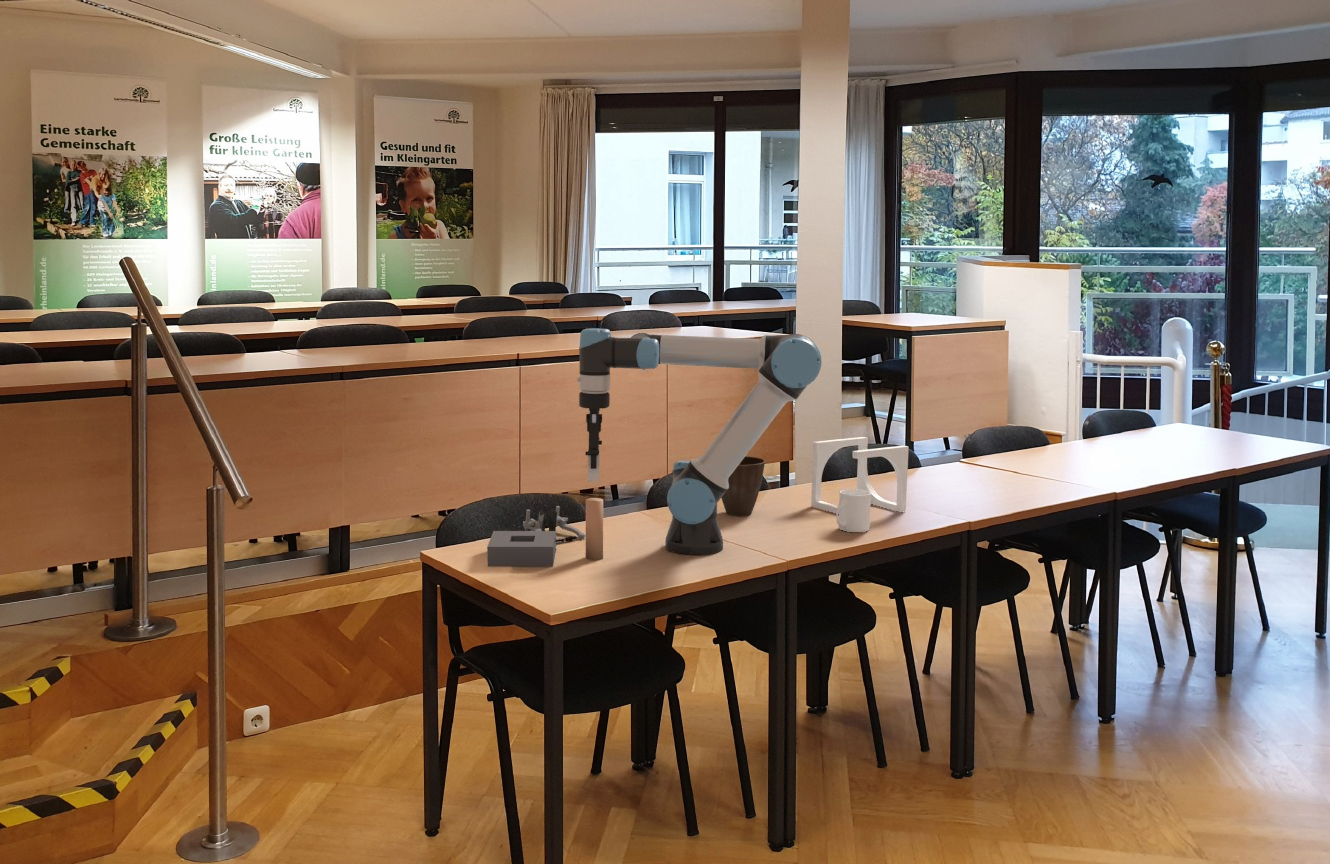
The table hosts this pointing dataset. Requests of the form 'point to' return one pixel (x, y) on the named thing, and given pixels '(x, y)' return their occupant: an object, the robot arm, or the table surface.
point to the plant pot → (744, 487)
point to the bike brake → (551, 524)
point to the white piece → (860, 470)
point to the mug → (854, 510)
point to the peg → (594, 529)
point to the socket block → (521, 549)
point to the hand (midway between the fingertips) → (593, 475)
